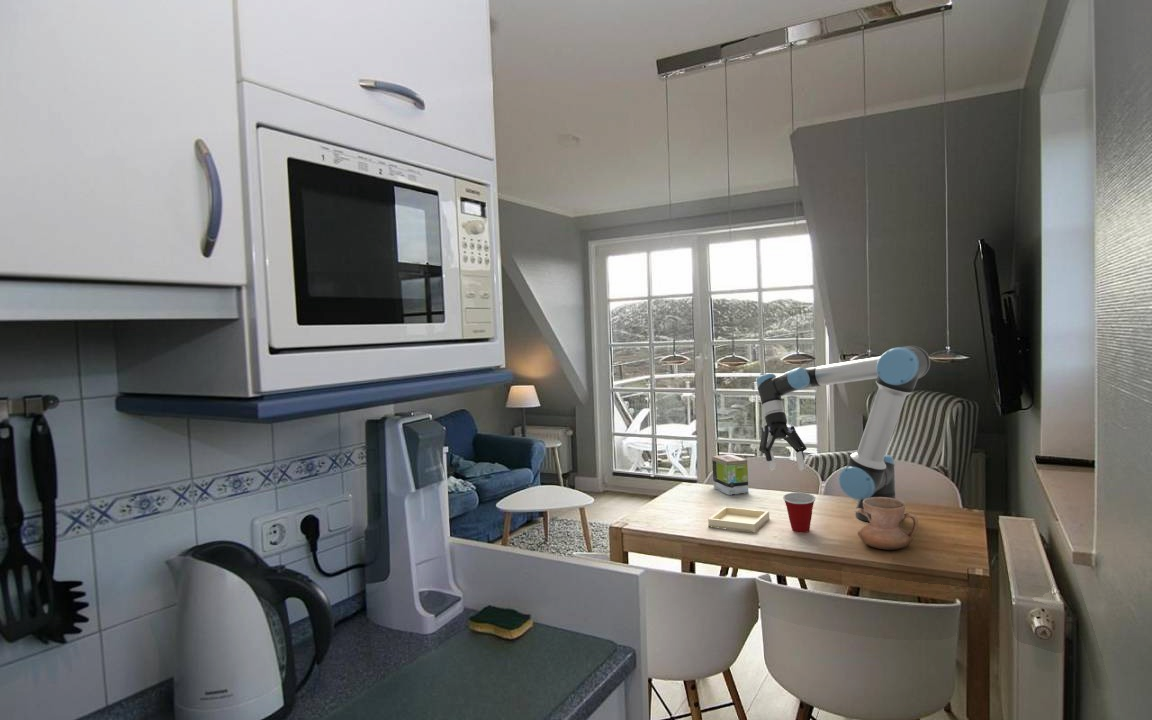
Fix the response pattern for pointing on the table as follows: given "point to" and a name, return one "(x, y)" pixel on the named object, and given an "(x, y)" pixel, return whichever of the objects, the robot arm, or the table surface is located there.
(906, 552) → the table surface
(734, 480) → the tea box
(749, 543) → the table surface
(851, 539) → the table surface
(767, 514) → the tray
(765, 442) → the robot arm
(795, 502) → the plastic cup
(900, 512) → the ceramic jug
